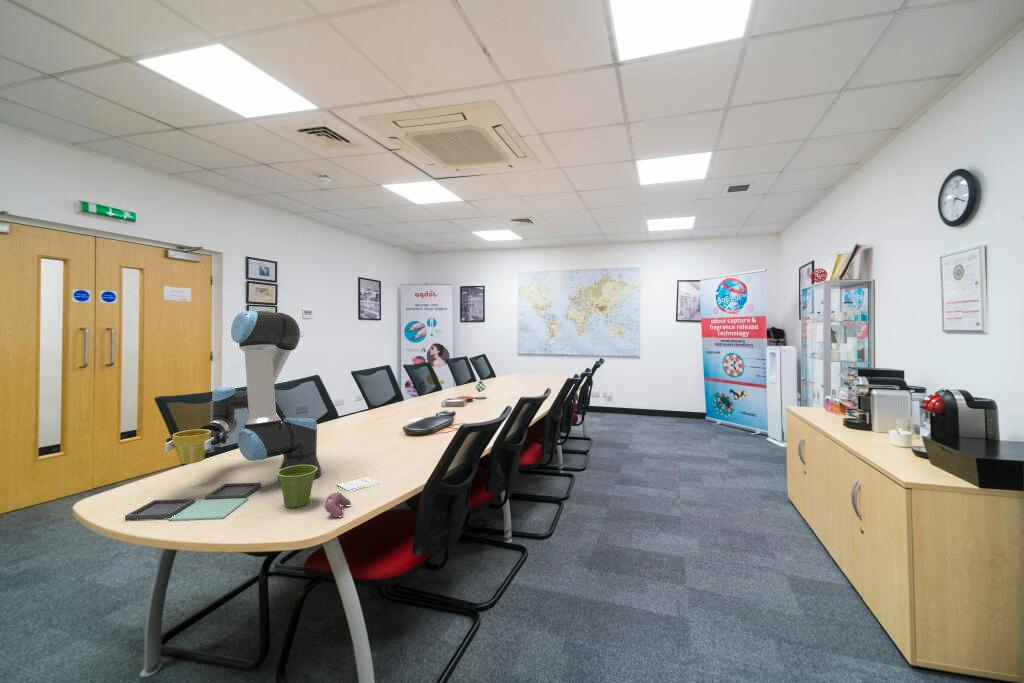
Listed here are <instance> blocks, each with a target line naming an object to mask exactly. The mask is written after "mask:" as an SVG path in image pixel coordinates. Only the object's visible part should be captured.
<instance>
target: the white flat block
mask: <svg viewBox="0 0 1024 683" xmlns="http://www.w3.org/2000/svg"><path fill="white" fill-rule="evenodd" d="M371 479H372V480H371ZM377 482H379V481H378V480H375V479H373V478H371V477H369V476H367V477H362V478H358V479H354V480H350V481H349V480H348V481H347V482H346V481H345V482H341V483H338V484H336V487H337V486H338V487H340V488H342V489H344V490H346V491H349V490H353V489H356V488H359V487H362V486H366V485H369V484H372V483H377Z"/></svg>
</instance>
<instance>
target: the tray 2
mask: <svg viewBox="0 0 1024 683" xmlns="http://www.w3.org/2000/svg"><path fill="white" fill-rule="evenodd" d="M260 486H262V483H261V482H237V483H233V482H232V483H224V484H222V485H221V486H219V487H217V488H216V489H214V490H213V491H211V492H210V493H208V494H207V495H205V497H204V498H205V499H204V500H210V499H239V498H248V497H249V496H251V493H252V494H253V493H254V492H256V491H257V490H259V489H260V488H261V487H260ZM259 487H260V488H259ZM255 490H256V491H255ZM247 496H248V497H247Z"/></svg>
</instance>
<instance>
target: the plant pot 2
mask: <svg viewBox="0 0 1024 683" xmlns="http://www.w3.org/2000/svg"><path fill="white" fill-rule="evenodd" d="M317 469H318V468H317V467H316V466H313V465H295V466H290V467H286V468H283V469H280V468H279V470H277V472H276V474H277V476H278V475H279V478H280V481H279V482H280V485H281V491H282V499H283V504H284V507H286V508H288V509H295V508H298V507H301V506H302V507H304V505H305V506H306V504H307V505H308V504H309V503H310V498H311V494H312V488H313V484H314V480H315V479H314V477H315V472H316V471H317Z"/></svg>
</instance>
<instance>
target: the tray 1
mask: <svg viewBox="0 0 1024 683" xmlns="http://www.w3.org/2000/svg"><path fill="white" fill-rule="evenodd" d="M195 502H196V498H178V499H177V498H175V499H174V498H172V499H170V498H169V499H153V500H151V501H150V502H148V503H146V504H144V505H143V506H140V507H139V508H137V509H135V510H133V511H131V512H129V513H127V514H125V515H124V521H125V520H131V521H141V520H140V519H157V520H165V519H164V518H171V517H172V516H174V515H176V514H178V513H179V512H181V511H182V510H184V509H186V508H187V507H189V506H190V505H192V504H194V503H195ZM137 519H138V520H137Z"/></svg>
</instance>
